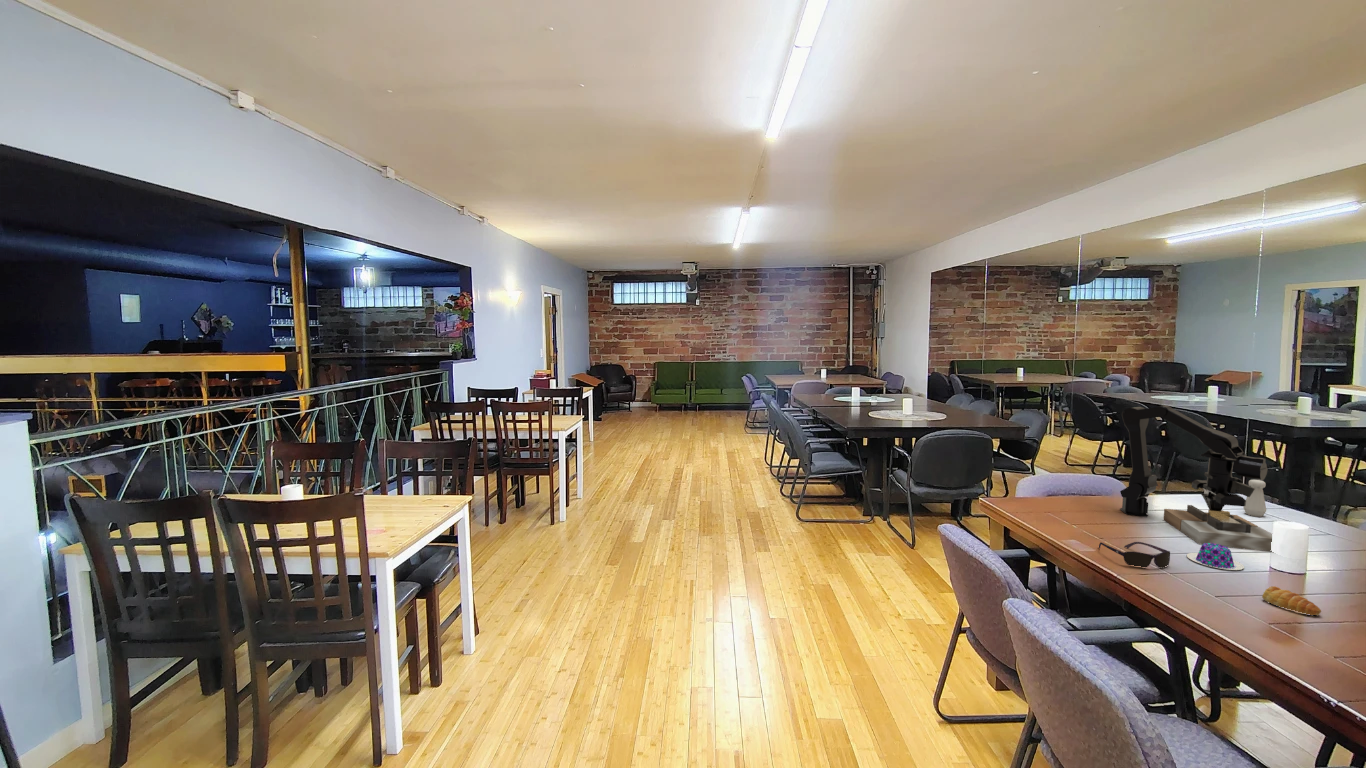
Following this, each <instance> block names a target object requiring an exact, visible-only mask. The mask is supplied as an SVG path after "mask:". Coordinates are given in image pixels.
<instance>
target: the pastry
mask: <svg viewBox="0 0 1366 768" xmlns="http://www.w3.org/2000/svg"><path fill="white" fill-rule="evenodd" d="M1261 598H1262V599H1263V601H1265V602H1266V601H1267V602H1269V603H1271V604H1270V605H1274V606H1275V605H1277V606H1280V607H1284V608H1287V609H1291V610H1295V611H1298V612H1302V613H1306V614H1310V615H1317V616H1319V615H1320V614H1322V609H1320V607H1318V605H1316V604H1315V603H1313V602H1312V601H1310V600H1308V599H1307V598H1304V597H1302V596H1301V595H1300V594H1299V593H1296V592H1291V591H1290V590H1288V589H1282V588H1280V587H1278V586H1276V585H1275V586H1273V585H1271V586H1269V587H1268V588H1266V589H1265V590H1264V592H1263V594H1262V596H1261ZM1267 602H1266V603H1267ZM1269 603H1268V604H1269Z"/></svg>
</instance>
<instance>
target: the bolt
mask: <svg viewBox="0 0 1366 768" xmlns="http://www.w3.org/2000/svg"><path fill="white" fill-rule="evenodd" d="M1230 514H1231V512H1230V511H1227V510H1223V511H1219V510H1209V509H1208V516H1211V517H1214V518H1216V519H1217V520H1219V521H1221V522H1229V523H1239V522H1238V521H1236V520H1234V519H1232V518H1230ZM1240 524H1241V523H1240Z"/></svg>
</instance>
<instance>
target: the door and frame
mask: <svg viewBox="0 0 1366 768" xmlns="http://www.w3.org/2000/svg"><path fill="white" fill-rule="evenodd" d="M1221 511H1224V509H1222V510H1221ZM1230 518H1232V519H1234V520H1236V521H1238V522H1239V523H1229V522H1221V521H1219V520H1217V519H1216V518H1214V517H1211V516H1208V512H1207V511H1205V512H1204V511H1203V510H1202V509H1200V508H1198V507H1195V506H1194V505H1192V504H1187V508H1186V510H1183V509H1182V510H1181V509H1170V508H1164V511H1163V521H1165V522H1167V523H1168V524H1169V525H1171V526H1172V527H1173V528H1175V529H1176V530H1178V531H1180V532H1181V533H1183V534H1184V535H1185V536H1187V537H1189V538H1190V539H1191V540H1192V541H1194V542H1196V543H1197V544H1199V545H1202V544H1204V543H1214V544H1219V545H1222V546H1226V547H1227V548H1233V547H1234V548H1233V549H1235V548H1237V549H1243V548H1245V550H1246V549H1247V550H1252V551H1253V550H1256V551H1261V552H1262V551H1265V552H1271V551H1270V550H1271V542H1272V534H1273V533H1272V532H1270V531H1268V530H1267V529H1265V528H1262V527H1261V526H1258V525H1257V524H1255V523H1253V522H1250V521H1249V520H1247V519H1245V518H1244V517H1242V516H1239V515H1238V514H1231V513H1230ZM1240 523H1241V524H1240Z"/></svg>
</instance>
